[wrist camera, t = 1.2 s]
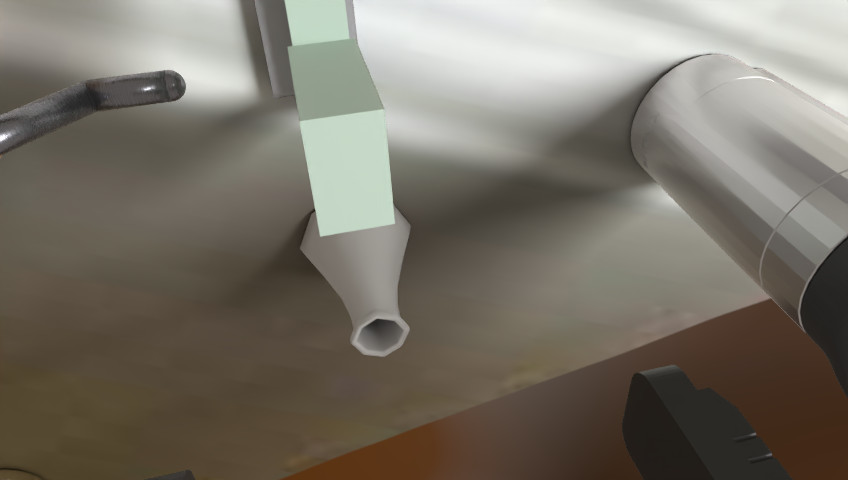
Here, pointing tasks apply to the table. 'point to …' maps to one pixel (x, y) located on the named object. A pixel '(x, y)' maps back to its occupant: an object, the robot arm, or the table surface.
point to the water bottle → (16, 475)
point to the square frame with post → (331, 109)
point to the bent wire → (86, 104)
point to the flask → (365, 279)
